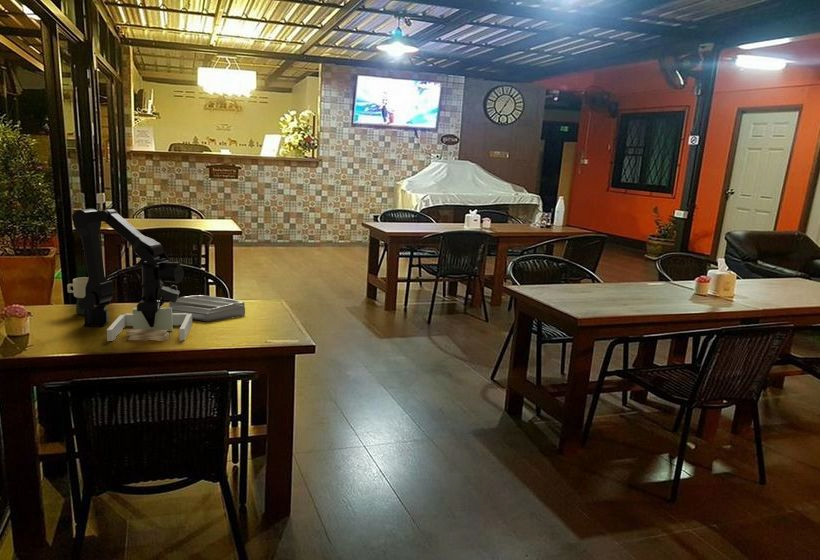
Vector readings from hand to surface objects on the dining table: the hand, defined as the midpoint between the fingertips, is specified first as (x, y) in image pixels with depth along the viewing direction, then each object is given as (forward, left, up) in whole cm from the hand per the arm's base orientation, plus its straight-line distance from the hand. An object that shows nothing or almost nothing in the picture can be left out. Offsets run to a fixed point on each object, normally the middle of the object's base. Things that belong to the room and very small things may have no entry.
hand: (153, 325), depth 198 cm
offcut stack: (0, -9, -2) cm, 9 cm away
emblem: (+15, +24, -3) cm, 28 cm away
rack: (0, -2, -2) cm, 3 cm away
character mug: (-27, +23, -2) cm, 36 cm away
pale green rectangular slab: (0, 0, -2) cm, 2 cm away
